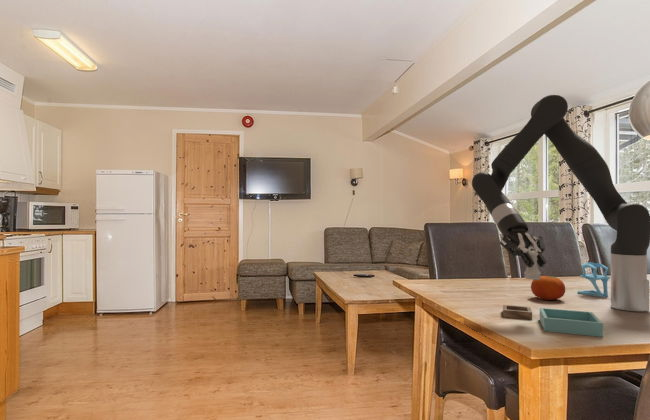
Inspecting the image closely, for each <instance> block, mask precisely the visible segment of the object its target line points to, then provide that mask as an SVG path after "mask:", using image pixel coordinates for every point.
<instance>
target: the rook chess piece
mask: <svg viewBox="0 0 650 420" xmlns="http://www.w3.org/2000/svg"><path fill="white" fill-rule="evenodd" d="M526 251H527V252H526V253H528V254H529V255H530V257H531V258H532V260H533V261H534V265H533V266H532V267H528V266H527V265H526V268H525V271H524V272H523V274H524V275H523V277H524V278H525V280H532V281H533V280H537V279H540V278H541V276H542V275H541V274H542V273H541V271H540V269H539V267H538V266H539V265H538V263H537V260H538V259H537V255H538V253H537V250H535V249H534V250H532V251H530V250H526Z"/></svg>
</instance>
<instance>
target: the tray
mask: <svg viewBox="0 0 650 420" xmlns="http://www.w3.org/2000/svg"><path fill="white" fill-rule="evenodd" d="M539 322H540V323H541V326H542V329H543V331H544V332H552V333H559V334H561V333H562V334H570V335H572V334H573V335H580V336H590V337H600V338H603V337H604V323H603V321H601V320H600V319H599V318H598V317H597V315H595V313H594V312H593V311H585V310H584V311H581V310H571V309H561V308H560V309H559V308H549V307H547V308H546V307H539Z"/></svg>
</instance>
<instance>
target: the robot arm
mask: <svg viewBox="0 0 650 420" xmlns="http://www.w3.org/2000/svg"><path fill="white" fill-rule="evenodd" d="M568 107H569V105H568V101H567V99H566V98H565V97H563V95H560V94H555V93H553V94H549V95H546V96H544V97H542V98H541V99H540V100H539V101H537V102H536V103H535V104H534V105H533V106H532V108H531V111H530V116H531V117H530V119H529V120H528V121H527V123H526V124H525V125H524V127H523V128H522V129H521V130H520V131H519V132H518V133H517V134H515V136H514V137H513V138H512V139H511V140H510V141H509V142H508V143H507V144H506V145H505V146H504V147H503V148H502V150H501V151H500V152H499V153H498V154H497V156H495V158H494V159H493V160H492V162H491V165H490V166H491V169H492V171H491V174H490V173H488V172H485V171H483V172H482V171H480V172H478V173H476V174H474V176H473V178H472V180H471V186H472V189H473V190H474V192H475V193H476V195H477V197H479V199H480V200H481V201H482V203H484V205H485V207H486V209H487V211H488V212H489V215H490V216H491V218H492V220H493V222H494V224H495V226H496V227H497V229H498V231H499V232H500V233H501V235H502V238H501V239H500V241H499V244H500V245H501V246H502V247H503V248H504V249H505V250H506V251H507V252H508V253H510V254H511V255H512V256H514V257H516V256H518V257H519V258H520V259H521V260H522V262H523V263H524V265H525V266H526V267H527V266H528V267H532V266H533V265H534V261H533V260H532V258H531V257H530V255H529V254H528V253H527V250H530V251H532V250H534V251H535V250H537V253H538V255H537V259H538V260H537V265H538V266H539V267H540V268H544V267H545V265H547V260H546V258H545V257H544V255H543V253H544V252H545V251H546V246H545V242H544V237H543V236H542V235H538V236H534V235H533V233H532V232H530V231H529V226H528V224H527V222H526V221H525V220H524V219H523V217H522V215H521V214H520V212H519V211H518V209H517V208H516V206H514V205H513V203H512V202H511V201H510V199H509V198H508V196H506V194H505V193H503V190H504V188H505V185H506V184H507V182H508V180H509V177H510V175H511V174H512V172H513V171H514V170H515V169H516V168H517V167H518V166H519V164H520V163H521V162H522V161H523V159H525V157H526V156H527V155H528V154H529V152H530V150H531V149H532V148H533V147H534V146H535V145H536V143H537V142H538V141H539V140H541V138H542V137H543V136H546V137H547V138H548V140H549V141H550V142H551V143H552V145H553V146H554V148H555V150H556V151H557V152H558V154H559V155H560V157H561V158H562V159H563V161H564V162H565V163H566V164H567V167H568V168H569V169H570V171H571V173H573V175H574V176H575V178H576V179H577V181H579V183H581V185H582V187H583V188H584V190H585V191H586V192H587V193H588V194H589V196H590V197H591V198H592V200H593V202H594V203H595V204H596V206H597V208H598V209H599V211H600V213H601V215H602V216H603V218H604V220H605V223H607V225H608V226H609V227H610V228H611V229H613V230H615V231H616V238H615V241H614V242H613V243H612V244H611V245H610V307H611V308H613V309H616V310H623V311H627V312H628V311H629V312H650V280H649V279H648V278H647V277H648V265H647V264H648V262H647V261H648V258H647V257H648V249H649V247H650V212H649V210H648V208H646V207H645V206H644V205H642V204H638V203H628V202H627V201H626V200H625V199H624V198H623V196H622V195H621V194H620V193H619V191H618V190H617V189H616V187H615V185H614V182H613V179H612V174H611V171H610V168H609V166H608V164H607V162H606V161H605V159H604V158H603V156H602V155H601V154H600V152H598V150H597V149H596V147H595V146H594V145H592V144H591V143H589V142H588V141H587V140H586V139H584V138H583V137H582V136H581V135H579V134H578V133H576V132H575V131H574V130H573V129H572V128H571V127H570V125H569V124H568V122H567V121H566V120H565V116H566V115H567V112H568V110H569V109H568Z"/></svg>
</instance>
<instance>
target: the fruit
mask: <svg viewBox="0 0 650 420" xmlns="http://www.w3.org/2000/svg"><path fill="white" fill-rule="evenodd" d="M540 276H541V278H540V279H537V280H533V279H532V281H531V283H530V289H531V293H532V294H533V295H534V297H536V298H538V299H540V300H544V301H556V300H559V299H561V298H562V297H564V296H565V293H566V286H565V283H564V282H563V280H562V279H560V278H559V277H555V276H551V275H550V276H549V275H540Z"/></svg>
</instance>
